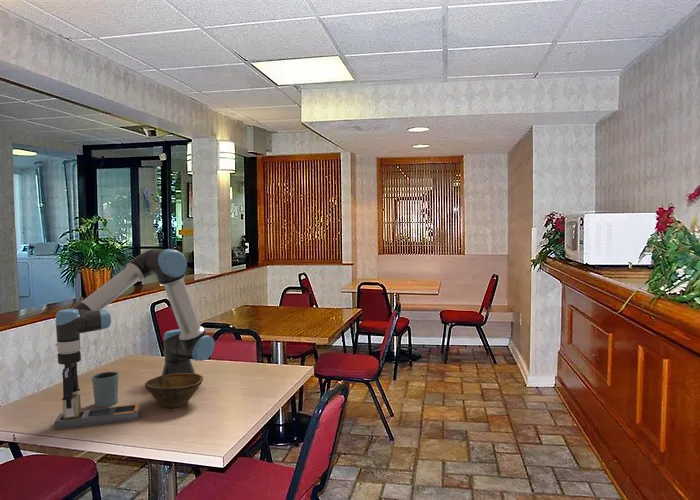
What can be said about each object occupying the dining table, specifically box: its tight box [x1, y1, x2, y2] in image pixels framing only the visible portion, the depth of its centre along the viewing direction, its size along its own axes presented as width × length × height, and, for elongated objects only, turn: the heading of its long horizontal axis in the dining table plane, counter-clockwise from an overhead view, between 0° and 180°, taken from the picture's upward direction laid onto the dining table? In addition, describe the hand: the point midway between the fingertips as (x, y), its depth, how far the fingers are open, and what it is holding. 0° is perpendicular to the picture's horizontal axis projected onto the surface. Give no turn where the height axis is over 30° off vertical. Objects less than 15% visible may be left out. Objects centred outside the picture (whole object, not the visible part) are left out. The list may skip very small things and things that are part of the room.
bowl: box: [144, 372, 204, 409], centre depth 216 cm, size 22×23×10 cm
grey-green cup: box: [91, 371, 120, 408], centre depth 218 cm, size 10×10×12 cm
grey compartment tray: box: [54, 403, 141, 431], centre depth 199 cm, size 28×9×3 cm, turn 108°
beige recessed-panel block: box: [61, 394, 82, 420], centre depth 196 cm, size 5×5×10 cm
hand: (72, 412), depth 196 cm, fingers open, 7 cm apart
